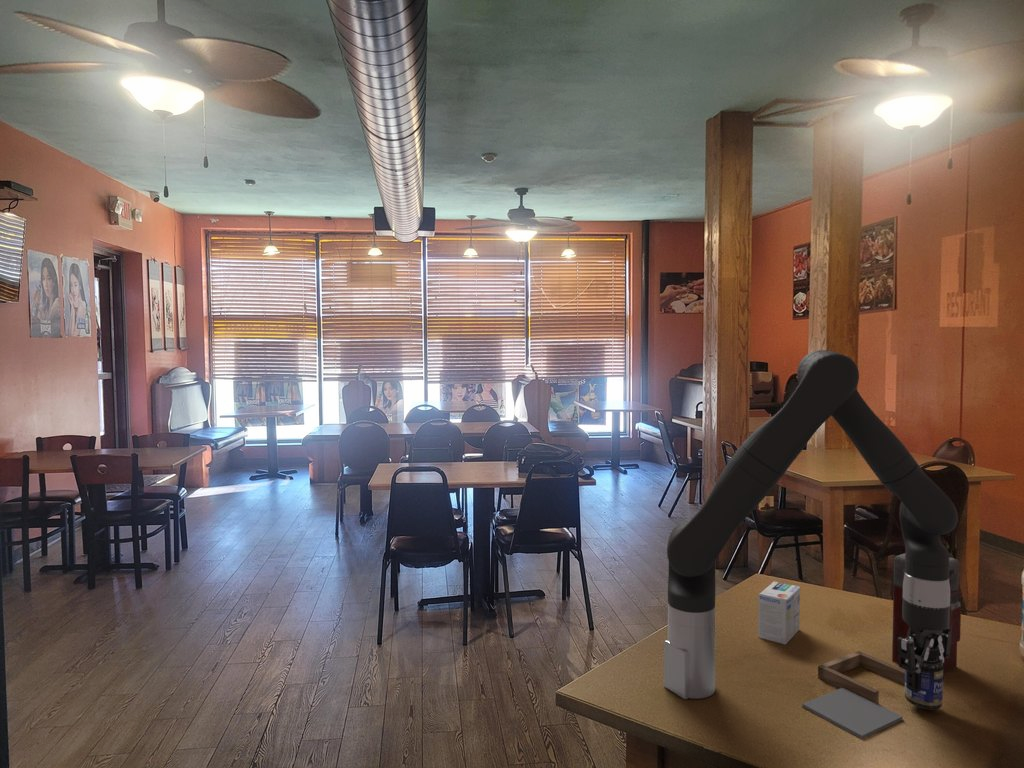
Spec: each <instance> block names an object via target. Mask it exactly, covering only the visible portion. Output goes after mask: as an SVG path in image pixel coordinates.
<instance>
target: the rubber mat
mask: <svg viewBox="0 0 1024 768" xmlns="http://www.w3.org/2000/svg"><path fill="white" fill-rule="evenodd" d="M802 708H803V709H806V710H807V711H809V712H811V713H812V714H815V715H817V716H818V717H820V718H822V719H824V720H826V721H828V722H830V723H831V724H833V725H835V726H838V727H839V728H841V729H843V730H845V732H847V733H850V734H851V735H854V736H855V737H857V738H860V740H863V739H865V738H868V737H869V736H871V735H873V734H876V733H878V732H879V731H882V730H885V729H886V728H888V727H890V726H892V725H894V724H897V723H899V722H900V721H902V720H903V715H901V714H899V713H897V712H894V711H892V710H890V709H888V708H886V707H884V706H883V705H882V706H881V705H880V704H879V703H878V704H876V703H874V702H872V701H869V700H867V699H865V698H863V697H861V696H859V695H857V694H855V693H853V692H851V691H849V690H847V689H845V688H837V689H835V690H833V691H831V692H828V693H826V694H823V695H821V696H819V697H816V698H814V699H813V698H812V699H811V700H809V701H808V700H807V701H806V702H804V703H802Z"/></svg>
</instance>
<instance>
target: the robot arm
mask: <svg viewBox="0 0 1024 768" xmlns="http://www.w3.org/2000/svg"><path fill="white" fill-rule="evenodd" d="M796 376H797V381H798V385H797V387H796V388H795V390H794V391H793V392H792V394H791V395H790V397H789V398H788V400H787V401H786V402H785V404H784V405H783V406H782V407H781V408H780V409H779V410H778V411H777V412H776V413H775V414H774V415H773V416H771V417H770V418H769V419H768V420H766V421H765V422H764V423H763V424H762V425H760V426H758V427H757V428H756V430H754V431H753V432H752V433H751V434H750V435H749V436H747V438H746V439H745V440H744V441H743V443H742V444H741V445H740V446H739V447H738V448H737V450H736V451H735V453H734V454H733V455H732V457H731V458H730V459H729V460H728V462H727V464H726V466H725V467H724V469H723V470H722V472H721V473H720V475H719V477H718V479H717V480H716V482H715V484H714V485H713V488H712V489H711V491H710V494H709V496H708V497H707V499H706V501H705V502H704V504H703V505H702V507H701V508H700V509H699V510H698V512H697V513H696V514H695V515H694V516H693V517H692V518H691V520H689V521H683V522H680V523H679V524H677V525H676V526H675V527H674V528H673V529H672V530H671V532H670V534H669V537H668V541H667V544H666V545H667V546H666V555H667V560H668V581H667V639H666V640H664V641H663V687H665V688H666V689H668V690H669V691H671V692H672V693H673V694H675V695H677V696H679V697H680V698H682V699H683V700H688V698H689V699H706V698H709V697H711V696H712V695H713V694H715V691H716V560H717V559H718V557H719V556H720V553H721V552H722V551H723V549H724V548H725V546H726V545H727V543H728V541H729V540H730V539H731V536H732V535H733V534H734V532H736V529H738V527H739V526H740V525H741V524H742V523H743V522H744V520H746V519H747V518H748V516H749V515H750V514H751V513H752V512H753V511H754V510H755V509H756V508H757V507H758V505H759V504H761V502H762V501H763V500H764V499H765V498H766V496H768V494H770V492H771V491H772V489H773V488H774V487H775V486H776V484H778V482H779V481H780V480H781V479H782V477H783V476H784V475H785V473H786V472H787V470H788V469H789V468H790V466H791V465H792V464H793V462H794V461H795V460H796V459H797V458H798V457H799V455H800V454H801V453H802V451H803V449H804V448H805V447H806V446H807V444H808V442H809V441H810V440H811V438H812V437H813V436H814V435H815V433H816V432H817V431H818V430H819V428H820V427H821V426H823V425H824V423H825V422H826V421H828V419H829V418H830V417H832V418H833V419H834V420H835V422H836V423H837V424H838V426H839V427H840V428H842V430H843V431H844V433H845V434H846V435H847V437H848V438H849V440H850V441H851V442H852V444H853V446H854V447H855V448H856V450H857V451H858V452H859V454H860V456H861V457H862V458H863V459H864V461H865V463H867V465H868V467H869V469H870V470H872V471H873V473H874V475H875V476H876V477H877V479H878V481H880V482H881V484H882V485H883V486H884V488H886V490H888V491H889V492H890V493H891V494H893V495H894V496H896V497H897V498H898V499H899V500H900V505H899V511H898V512H899V522H900V529H901V534H902V539H903V542H904V548H905V575H904V581H903V605H902V618H903V620H904V621H905V622H906V623H907V624H908V625H909V631H908V635H907V637H906V638H905V639H904V638H902V637H898V639H897V646H898V663H899V664H898V663H897V664H898V668H901V669H903V670H907V685H906V686H907V688H908V689H909V690H911V691H914V692H916V693H917V692H920V691H921V673H920V672H921V669H922V666H923V663H924V662H927V659H928V655H929V651H930V649H931V648H932V647H933V646H935V645H936V646H938V647H939V655H938V658H939V659H940V660H941V661H942V663H944V658H949V655H950V644H951V634H952V628H951V627H949V622H950V584H949V557H950V552H949V550H948V549H947V547H946V546H945V545H944V544H943V542H942V540H941V536H943V535H947V534H949V533H951V532H953V531H954V529H956V527H957V525H958V522H959V514H958V511H957V507H956V506H955V504H954V503H953V501H952V500H951V499H950V497H949V496H948V495H947V494H946V493H945V492H944V491H943V490H942V489H941V488H940V487H939V486H938V485H937V484H936V482H934V481H933V480H932V479H931V477H929V476H928V475H927V474H926V473H925V472H924V471H923V469H922V468H921V467H920V465H919V464H918V462H917V460H916V459H915V458H914V457H913V456H912V454H911V453H910V452H909V450H908V449H907V447H906V446H905V445H904V443H903V442H902V441H901V440H900V439H899V438H898V437H897V435H896V434H894V432H893V431H892V430H891V429H890V428H889V427H888V426H887V425H886V424H885V423H884V422H883V421H882V420H881V418H880V417H879V416H877V414H875V412H874V411H873V410H872V409H871V408H870V406H869V405H868V403H867V402H866V401H865V400H864V398H863V397H862V396H861V394H860V393H859V391H858V389H857V386H858V385H859V379H860V373H859V369H858V366H857V364H856V362H855V361H854V360H853V359H852V358H850V357H849V356H847V355H845V354H843V353H839V352H835V351H833V350H829V349H828V350H825V349H821V350H815V351H812V352H809V353H807V354H805V356H804V357H802V359H801V360H800V362H799V364H798V366H797V372H796ZM942 644H943V645H944V648H943V645H942ZM915 651H917V652H920V653H922V655H921V656H919V655H916V654H915ZM905 659H906V661H905ZM915 659H917V664H916V666H915Z"/></svg>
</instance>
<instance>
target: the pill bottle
mask: <svg viewBox="0 0 1024 768" xmlns="http://www.w3.org/2000/svg"><path fill="white" fill-rule="evenodd" d="M915 654H916V655H919V656H921V655H922V653H920V652H917V651H915ZM938 655H939V647H938V646H936V645H935V646H933V647H932V648H931V649H930V651H929V655H928V659H927V662H924V663H923V666H922V669H921V672H920V673H921V691H920V692H917V693H916V692H914V691H911V690H909V689H908V688H907V686H906V685H907V670H905V669H904V670H905V685H904V698H905V700H906V701H907V702H908V703H910V704H912V705H913V706H915V707H917V708H921V709H925V710H931V711H932V710H933V711H935V710H939V709H940V708H942V707H943V697H944V695H943V693H944V690H943V689H944V674H943V663H942V661H941V660H940V659H939V658H938ZM905 661H906V659H905ZM916 664H917V659H915V666H916Z"/></svg>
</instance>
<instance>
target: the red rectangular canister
mask: <svg viewBox="0 0 1024 768" xmlns="http://www.w3.org/2000/svg"><path fill="white" fill-rule="evenodd" d="M905 553H906V552H905ZM905 553H901V554H899V555H895V557H894V560H893V594H892V595H893V599H892V601H893V602H892V606H893V607H892V642H891V644H892V647H891V649H892V650H891V651H892V653H891V655H892V656H891V661H892V662H893V663H895V664H898V665H899V663H898V646H897V639H898V637H902V638H904V639H905V638H906V637H907V635H908V631H909V625H908V624H907V623H906V622H905V621H904V620H903V618H902V605H903V581H904V575H905ZM959 576H960V563H959V560H958V559H957V558H954V557H950V556H949V584H950V622H949V627H951V628H952V634H951V644H950V655H949V658H944V663H943V675H944V674H946V673H948V672H949V671H952V670H954V669H956V668H957V667H956V666H957V662H958V661H957V660H958V657H957V656H958V642H960V641H961V621H962V620H961V619H962V614H961V613H962V605H961V601H960V598H959V590H960V589H959V587H960V586H959V584H960V583H959V582H960V581H959V579H960V577H959ZM942 645H943V644H942ZM943 648H944V645H943ZM955 667H956V668H955ZM953 668H954V669H953ZM951 669H952V670H951ZM947 671H948V672H947Z"/></svg>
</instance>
